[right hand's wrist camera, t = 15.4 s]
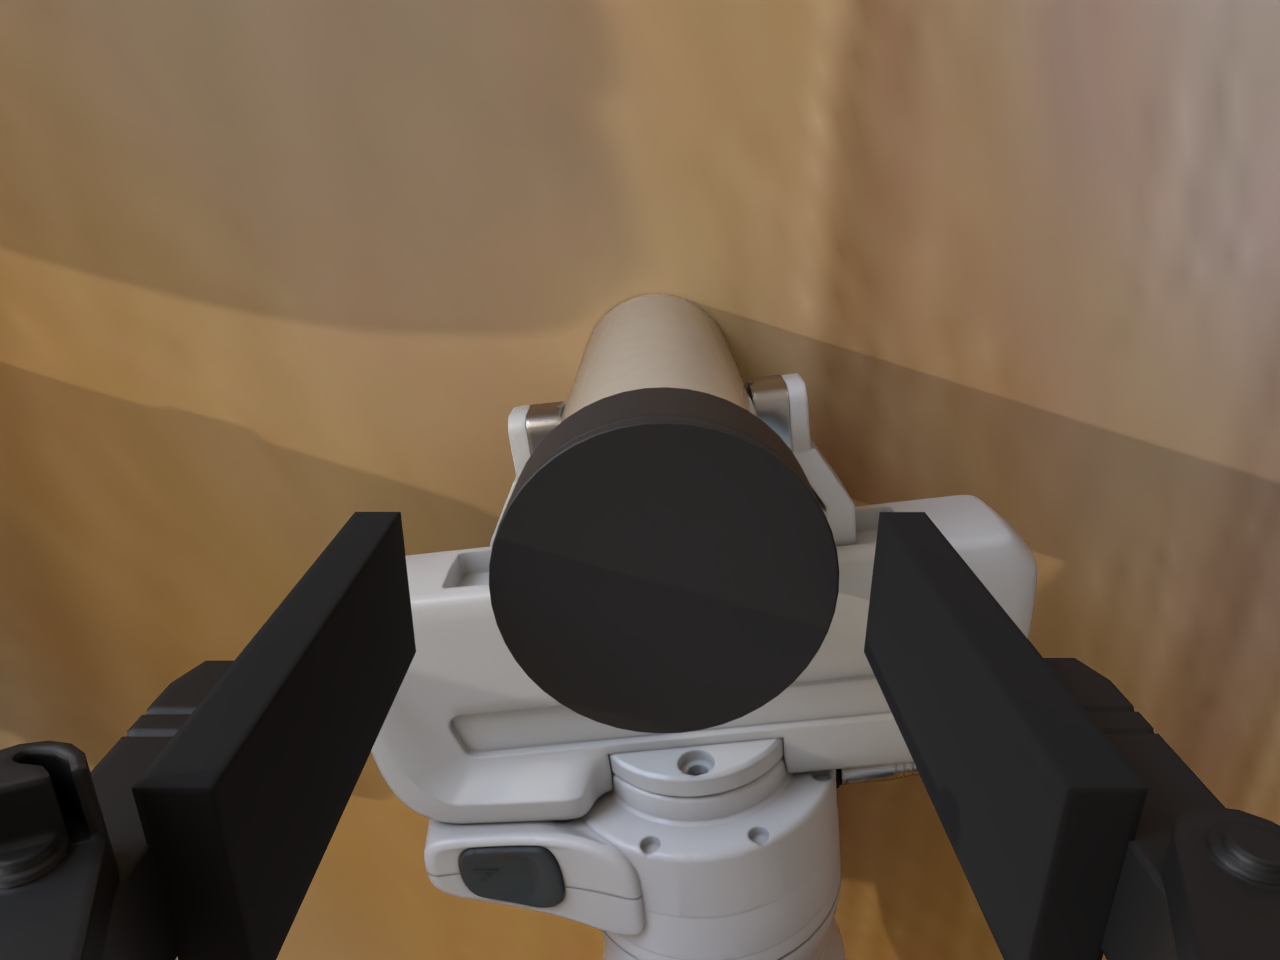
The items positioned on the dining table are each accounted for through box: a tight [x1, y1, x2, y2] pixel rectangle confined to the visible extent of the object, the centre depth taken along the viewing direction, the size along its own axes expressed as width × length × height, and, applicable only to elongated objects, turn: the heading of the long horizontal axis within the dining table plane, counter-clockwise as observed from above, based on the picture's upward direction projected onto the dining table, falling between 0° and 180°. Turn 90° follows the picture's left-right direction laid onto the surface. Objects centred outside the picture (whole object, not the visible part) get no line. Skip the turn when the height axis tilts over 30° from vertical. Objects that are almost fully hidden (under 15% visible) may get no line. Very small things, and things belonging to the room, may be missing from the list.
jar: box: [559, 294, 759, 424], centre depth 22 cm, size 5×5×16 cm
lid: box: [489, 387, 839, 734], centre depth 15 cm, size 6×6×2 cm
